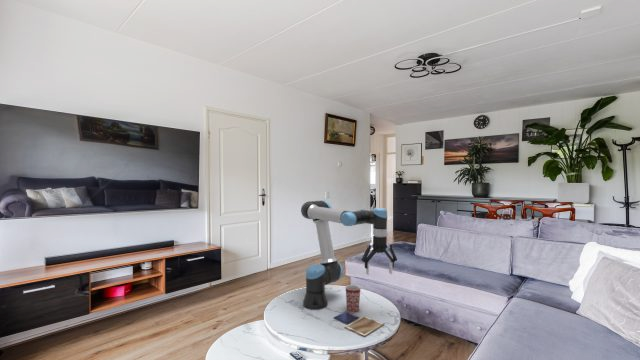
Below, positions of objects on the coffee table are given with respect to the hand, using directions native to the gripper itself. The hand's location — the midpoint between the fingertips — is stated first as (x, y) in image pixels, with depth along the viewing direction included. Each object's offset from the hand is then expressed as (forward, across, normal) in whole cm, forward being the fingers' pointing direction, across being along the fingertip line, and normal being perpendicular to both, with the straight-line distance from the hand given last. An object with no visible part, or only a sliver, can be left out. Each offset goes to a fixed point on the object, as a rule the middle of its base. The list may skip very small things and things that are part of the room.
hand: (379, 273), depth 161 cm
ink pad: (+25, -18, +2) cm, 31 cm away
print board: (+25, -11, -8) cm, 28 cm away
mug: (+25, -11, +14) cm, 31 cm away
